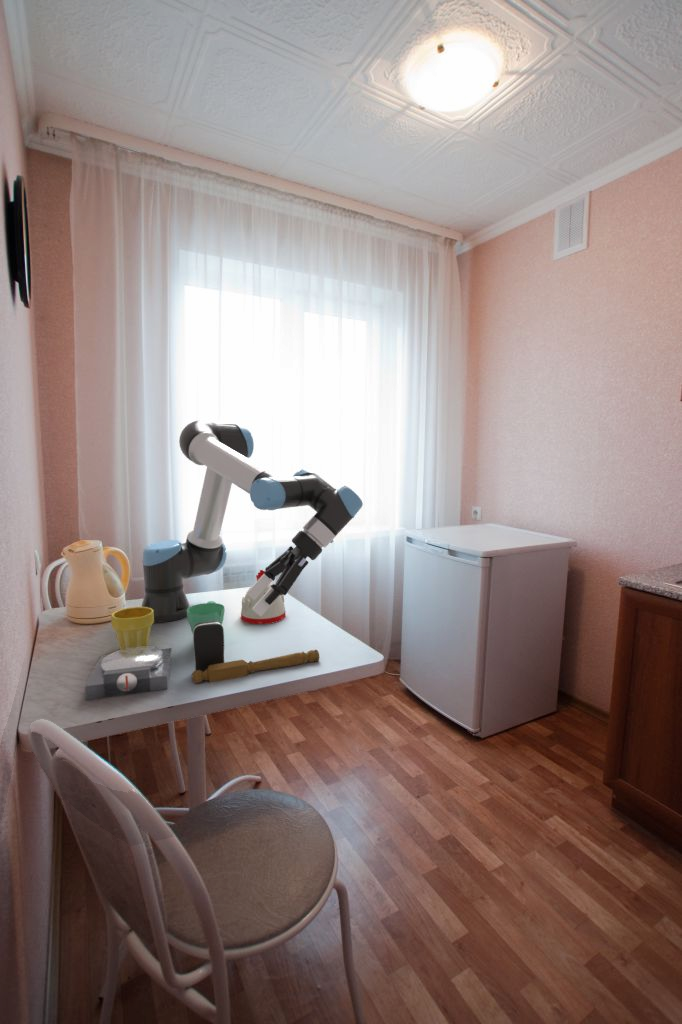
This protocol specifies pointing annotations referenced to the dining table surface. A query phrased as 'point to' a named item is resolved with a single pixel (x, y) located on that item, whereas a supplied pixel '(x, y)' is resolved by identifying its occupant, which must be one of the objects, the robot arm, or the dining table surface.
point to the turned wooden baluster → (251, 666)
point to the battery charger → (208, 644)
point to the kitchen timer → (271, 615)
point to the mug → (205, 613)
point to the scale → (130, 672)
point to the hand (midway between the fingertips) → (253, 604)
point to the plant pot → (132, 626)
